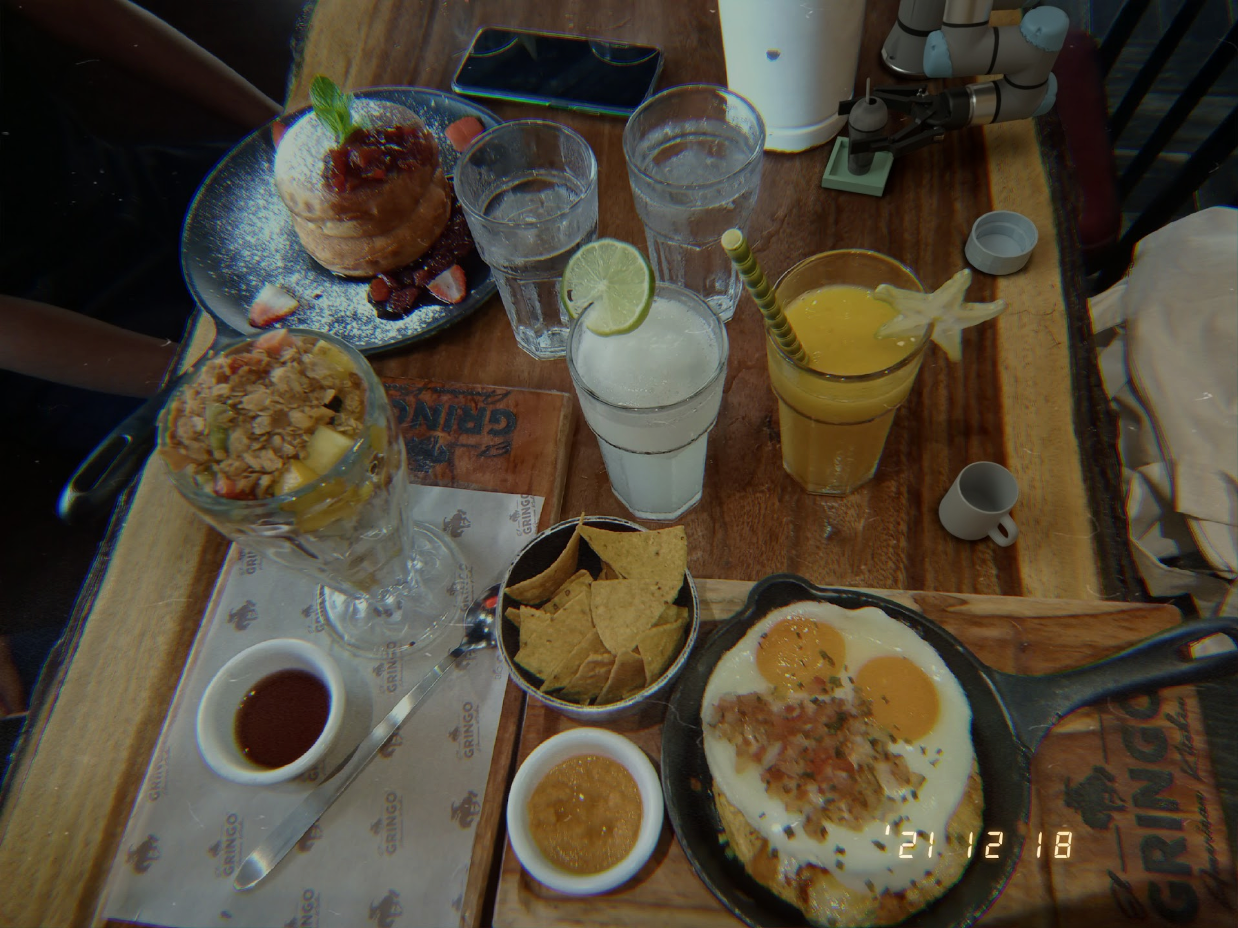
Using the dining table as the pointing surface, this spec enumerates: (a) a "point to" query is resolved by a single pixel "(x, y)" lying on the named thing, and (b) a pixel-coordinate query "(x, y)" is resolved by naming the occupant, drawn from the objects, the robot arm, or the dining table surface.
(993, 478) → the mug
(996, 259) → the bowl
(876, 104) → the beverage cup
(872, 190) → the tray
